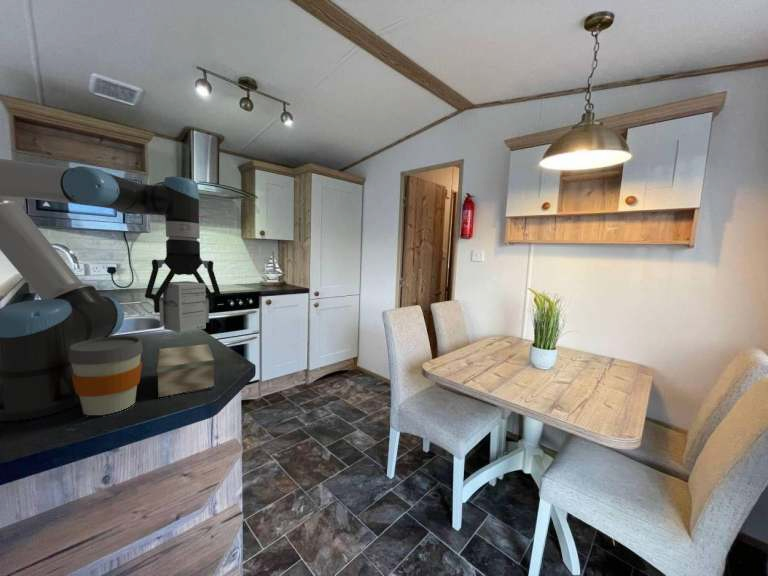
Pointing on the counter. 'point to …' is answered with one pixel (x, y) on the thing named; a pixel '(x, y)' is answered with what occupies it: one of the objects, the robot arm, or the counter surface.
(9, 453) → the counter surface
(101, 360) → the reusable coffee cup
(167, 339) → the counter surface
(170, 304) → the supplement box
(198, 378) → the maple box
